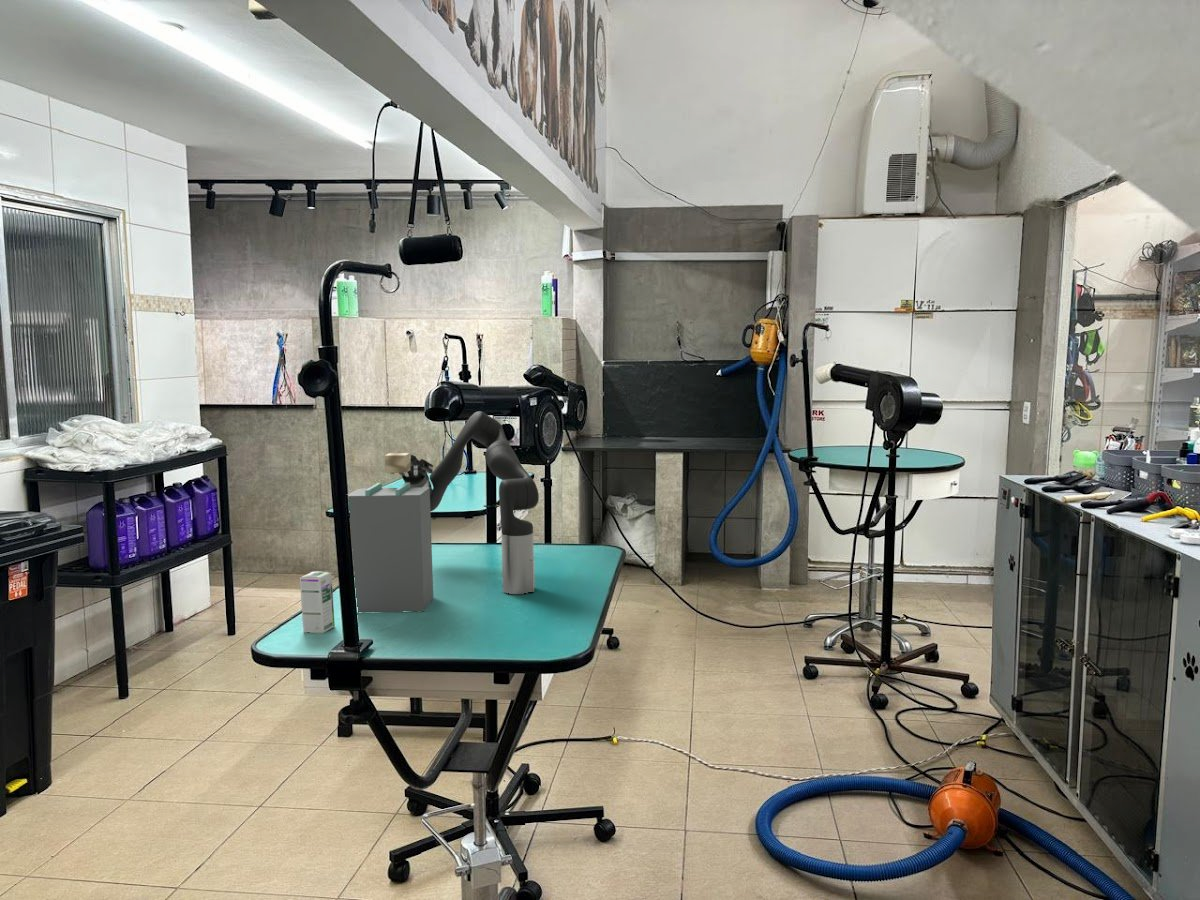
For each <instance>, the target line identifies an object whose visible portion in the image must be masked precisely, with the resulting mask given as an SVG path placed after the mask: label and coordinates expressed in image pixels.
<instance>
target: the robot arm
mask: <svg viewBox="0 0 1200 900" xmlns="http://www.w3.org/2000/svg"><path fill="white" fill-rule="evenodd" d="M471 439H473V440H474V441H476V442H478V443H479V444H481V445H483V446H484V447H486V451H485V455H484V456H485V457H484V459H485V463H486V465H487V467H488V468H489V470H490V472H491V473H492V475H493V476H494V477H497V478H498V479H500V480H501V481H500V483H499V488H498V499H499V500H498V501H499V508H500V509H499V510H500V511H499V513H500V527H501V529H500V530H501V560H502V562H501V565H502V566H501V568H502V569H501V570H502V591H504V592H503V593H504V594H508V593H509V595H525V594H524V593H526V594H529V593H528V592H535V589H536V577H535V576H536V575H535V572H536V570H535V555H534V554H535V553H534V526H533V523H532V522H530V521H528V520H524V519H521V518H519V517H516V515H515V514H514V511H523V510H526V511H527V510H532V509H533V508H535V507H536V506H537V505H538V502H539V501H540V500H539V490H538V488H537V487H538V486H537V485H536V482H535V480H534V479H533V478H532V477H531V475H530V474H529V473H528V472H527V470H526V469H525V468H524V466H523V465H522V464H521V462H520V460H519V458H518V456H517V454H516V453H515V451H514V449H513V448H512V446H511V444H510V443H509V441H508V439H507V436H506V433H505V431H504V429H503V426H502V424H501V422H499V420H496V419H495V418H493V417H492V416H490V415H488V414H486V413H485V412H483V411H481V410H479V411H475V412H473V414H472V415H471V416H470V417H469V418H468V419H467V420H466V422H465V424H464V425H463V427H462V428H461V430H460V432H459V434H457V436H456V437H455V440H454V442H453V443H452V444H451V447H450V449H448V450H447V451H448V452H447V453H446V455H444V457H443V458H442V460H440V462H439V463H438V465H437V466H436V467H435V468H434V465H433V464H432V463H430V462H428V461H427V460H425V459H420V460H419V459H418V458H417V456H416V455H414V454H410V456H411V457H410V458H411V463H412V466H411V467H410V471H408V472H407V473H398V474H399V475H401V477H402V479H403V482H404V484H405V483H407V482H410V488H423V487H430V513H431V512H433V511H435V510H436V509H437V508H438V507H439V505H440V503H441V501H442V499H443V497H444V495H445V493H446V491H447V489H448V487H449V485H450V484H451V483H452V481H454V479H455V478H456V477H457V476H458V475H459V473H460V472H461V469H462V465H463V459H464V451H465V447H466V446H467V444H468V442H469V441H470V440H471ZM390 474H392V475H393V474H395V473H390ZM428 474H430V475H428ZM534 588H535V589H534Z"/></svg>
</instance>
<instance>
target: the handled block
mask: <svg viewBox="0 0 1200 900" xmlns="http://www.w3.org/2000/svg"><path fill="white" fill-rule="evenodd" d="M410 457H411V453H410V452H388V453H387V454H385V455H384V474H391V473H394V474H399V473H407V472H408V471H410V467H411V466H412V463H411V458H410Z"/></svg>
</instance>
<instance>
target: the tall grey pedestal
mask: <svg viewBox="0 0 1200 900" xmlns="http://www.w3.org/2000/svg"><path fill="white" fill-rule="evenodd" d="M347 495H348V497H349V511H350V527H351V538H352V549H353V560H354V571H355V588H356V598H357V607H358V613H357V614H360V613H359V612H393V613H404V612H403V611H424V612H425V611H426V610H427V608H428V607H427V606H429V605H430V604H431V602H432V601H431V600H433V599H434V579H433V578H434V577H433V551H432V550H433V549H432V547H433V546H432V545H433V544H432V523H431V522H432V520H431V518H432V517H431V516H432V515H431V512H430V487H423V488H410V482H407V483H405V482H404V484H402V485H401V486H399V487H383V485H382V482H378V483H375V484H374V485H372V486H370V487H369V488H367V487H366V488H364V487H363V488H356V489H355V490H354V491H352V492H349V493H348V494H347ZM430 601H431V602H430ZM429 603H430V604H429ZM425 609H426V610H425Z"/></svg>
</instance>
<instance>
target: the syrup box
mask: <svg viewBox="0 0 1200 900" xmlns="http://www.w3.org/2000/svg"><path fill="white" fill-rule="evenodd" d="M332 577H333V575H332V572H331V571H324V570H323V571H321V570H320V571H319V570H317V571H311V572H309V573H306V574H305V575H303V576H300V577H299V585H300V587H299V588H300V589H299V590H300V603H301V615H302V616H301V617H302V630H303V633H307V632H310V633H309V634H325V632H328V631H329V630H331V629H333V628H334V627H335V625H336V624H335V610H334V608H335V607H334V595H333V594H334V593H333V591H334V590H333V579H332Z"/></svg>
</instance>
